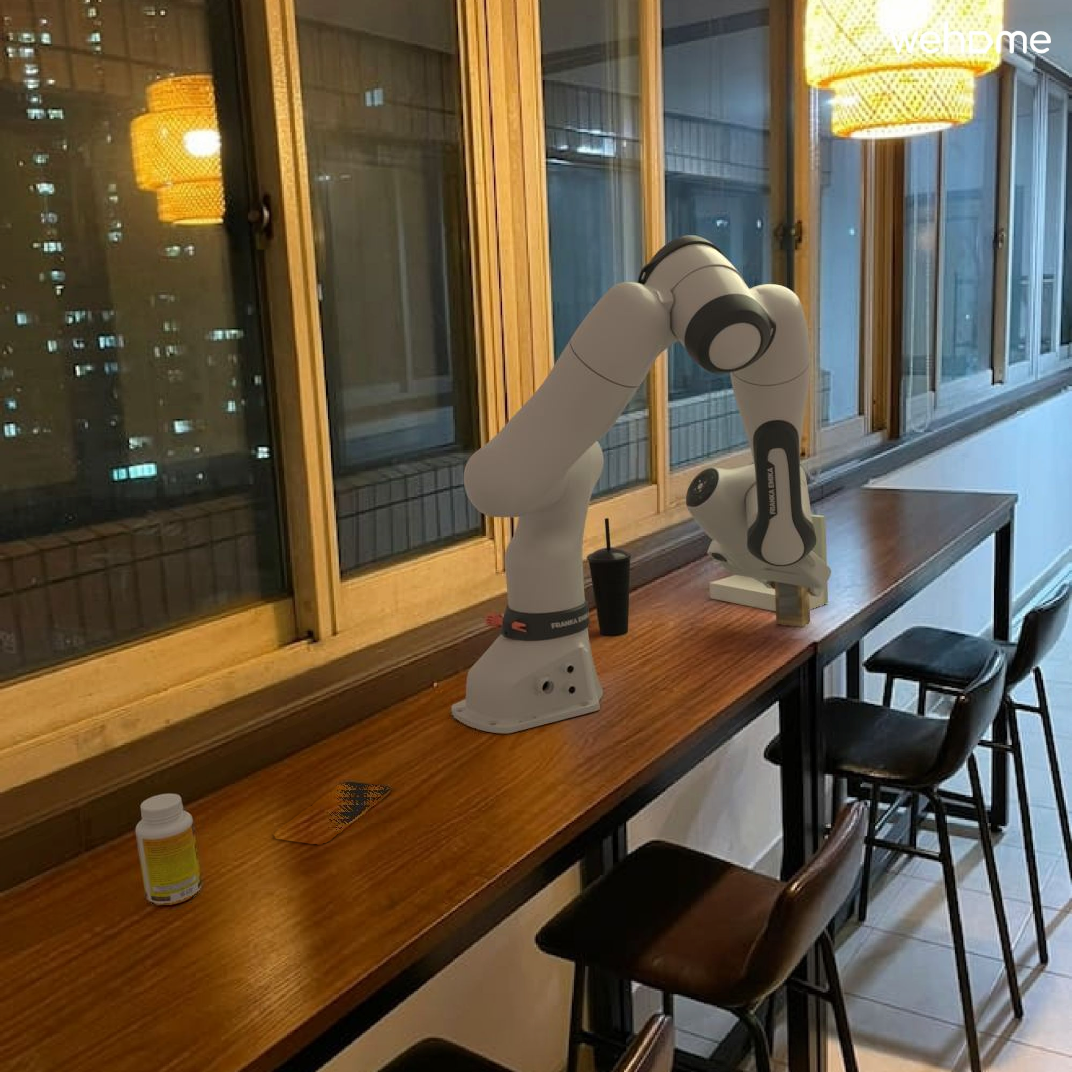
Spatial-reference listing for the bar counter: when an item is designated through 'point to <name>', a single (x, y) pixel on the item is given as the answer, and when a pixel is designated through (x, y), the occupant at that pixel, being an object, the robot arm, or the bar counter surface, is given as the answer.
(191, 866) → the supplement bottle
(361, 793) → the phone
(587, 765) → the bar counter surface
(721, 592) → the cream l-shaped bookend
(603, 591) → the drinking cup
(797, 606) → the small box
